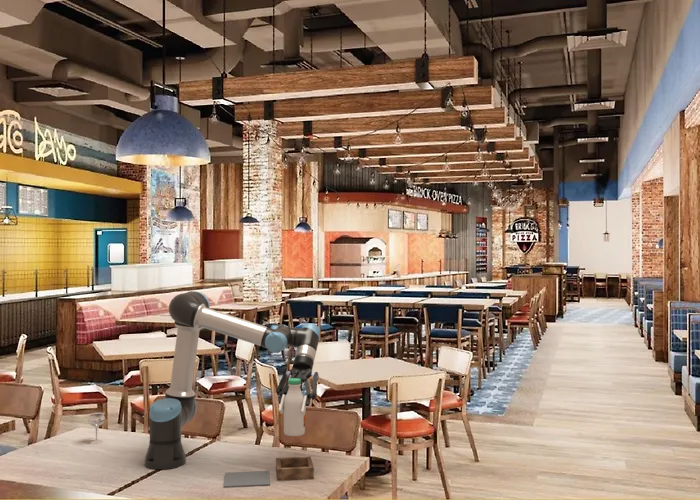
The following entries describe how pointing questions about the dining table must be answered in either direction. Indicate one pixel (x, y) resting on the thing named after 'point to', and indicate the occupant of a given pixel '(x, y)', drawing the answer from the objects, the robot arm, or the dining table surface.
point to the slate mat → (247, 479)
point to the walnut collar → (294, 468)
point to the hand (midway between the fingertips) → (291, 412)
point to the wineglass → (96, 422)
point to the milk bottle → (294, 409)
